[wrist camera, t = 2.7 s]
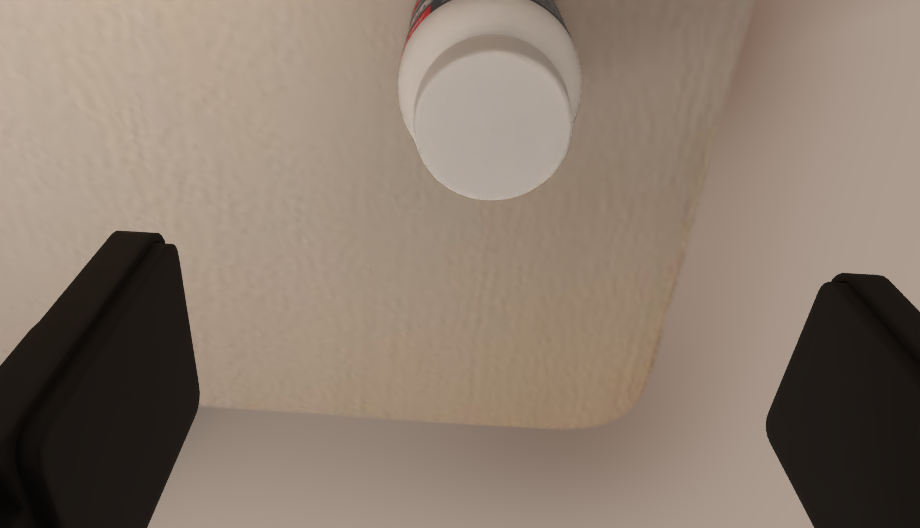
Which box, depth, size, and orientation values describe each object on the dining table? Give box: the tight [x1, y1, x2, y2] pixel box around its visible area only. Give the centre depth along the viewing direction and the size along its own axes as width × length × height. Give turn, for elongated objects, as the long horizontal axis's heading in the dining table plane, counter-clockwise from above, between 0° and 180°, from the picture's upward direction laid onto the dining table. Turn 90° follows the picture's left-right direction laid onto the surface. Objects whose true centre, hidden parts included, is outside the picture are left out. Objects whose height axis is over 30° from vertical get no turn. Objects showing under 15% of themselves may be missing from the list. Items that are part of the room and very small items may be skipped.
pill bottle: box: [397, 0, 582, 201], centre depth 21 cm, size 5×5×9 cm
